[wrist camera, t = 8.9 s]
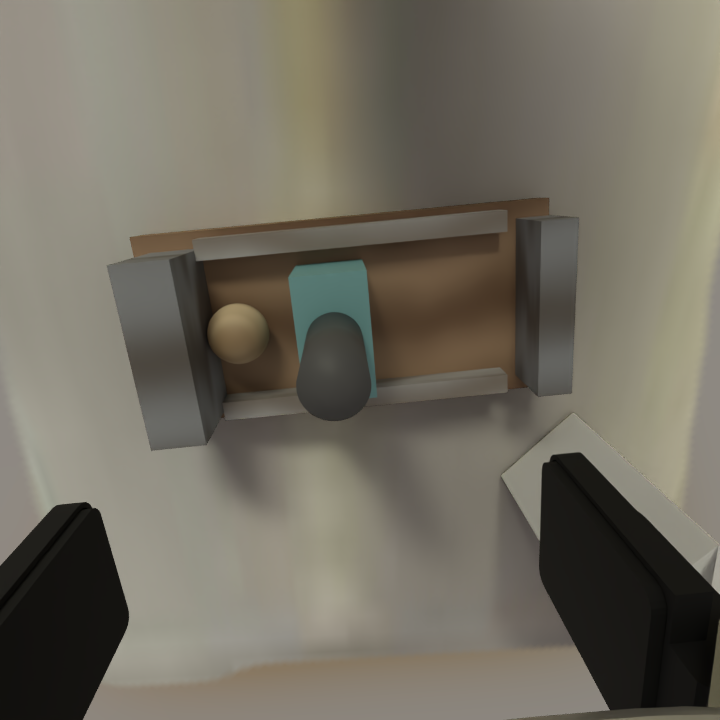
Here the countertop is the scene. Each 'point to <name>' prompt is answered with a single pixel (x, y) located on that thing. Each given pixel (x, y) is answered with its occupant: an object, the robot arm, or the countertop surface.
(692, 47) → the countertop surface
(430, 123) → the countertop surface
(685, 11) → the countertop surface
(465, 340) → the base
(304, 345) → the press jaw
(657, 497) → the milk carton
